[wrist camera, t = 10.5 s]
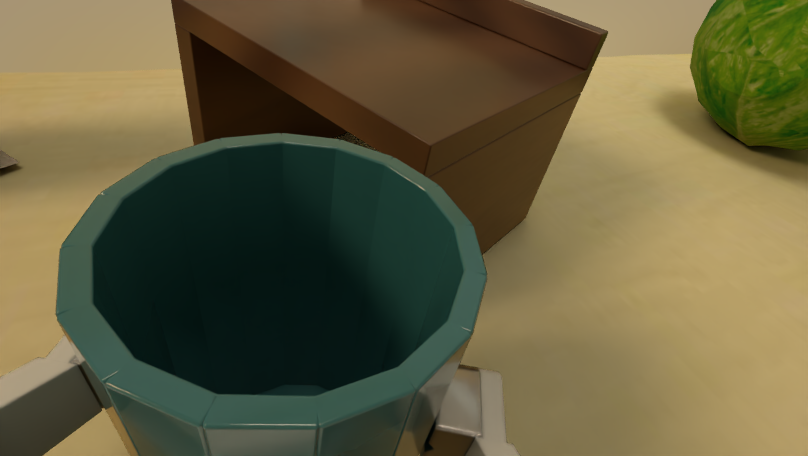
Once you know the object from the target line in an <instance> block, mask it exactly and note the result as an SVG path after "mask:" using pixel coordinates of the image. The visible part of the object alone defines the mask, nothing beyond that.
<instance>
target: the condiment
mask: <svg viewBox="0 0 808 456" xmlns="http://www.w3.org/2000/svg"><path fill="white" fill-rule="evenodd" d="M16 163H19V162H18V161H17V160H15V159H14V158H13V157H10V156H8V155H7V154H6V153H5V152H3V151H2V150H0V168H4V167H7V166H10V165H13V164H16Z"/></svg>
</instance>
